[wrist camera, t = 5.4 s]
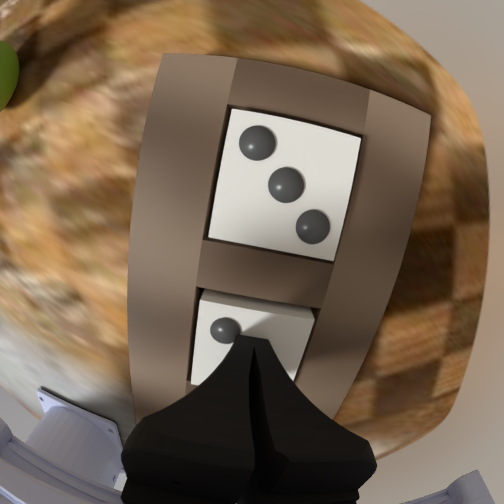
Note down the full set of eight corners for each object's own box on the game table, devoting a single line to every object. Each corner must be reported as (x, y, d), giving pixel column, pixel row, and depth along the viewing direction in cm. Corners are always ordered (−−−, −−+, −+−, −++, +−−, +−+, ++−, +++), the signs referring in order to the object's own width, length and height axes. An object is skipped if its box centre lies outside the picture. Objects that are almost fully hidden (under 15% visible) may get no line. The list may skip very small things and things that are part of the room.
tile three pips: (319, 244, 12) (333, 261, 10) (218, 224, 12) (207, 237, 10) (340, 144, 11) (361, 137, 9) (237, 121, 11) (231, 108, 8)
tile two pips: (282, 367, 14) (286, 400, 12) (199, 353, 14) (190, 385, 12) (304, 293, 13) (315, 320, 11) (210, 276, 13) (199, 300, 10)
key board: (292, 457, 17) (295, 477, 15) (148, 434, 16) (141, 453, 15) (408, 121, 11) (431, 115, 9) (176, 69, 10) (163, 53, 8)
